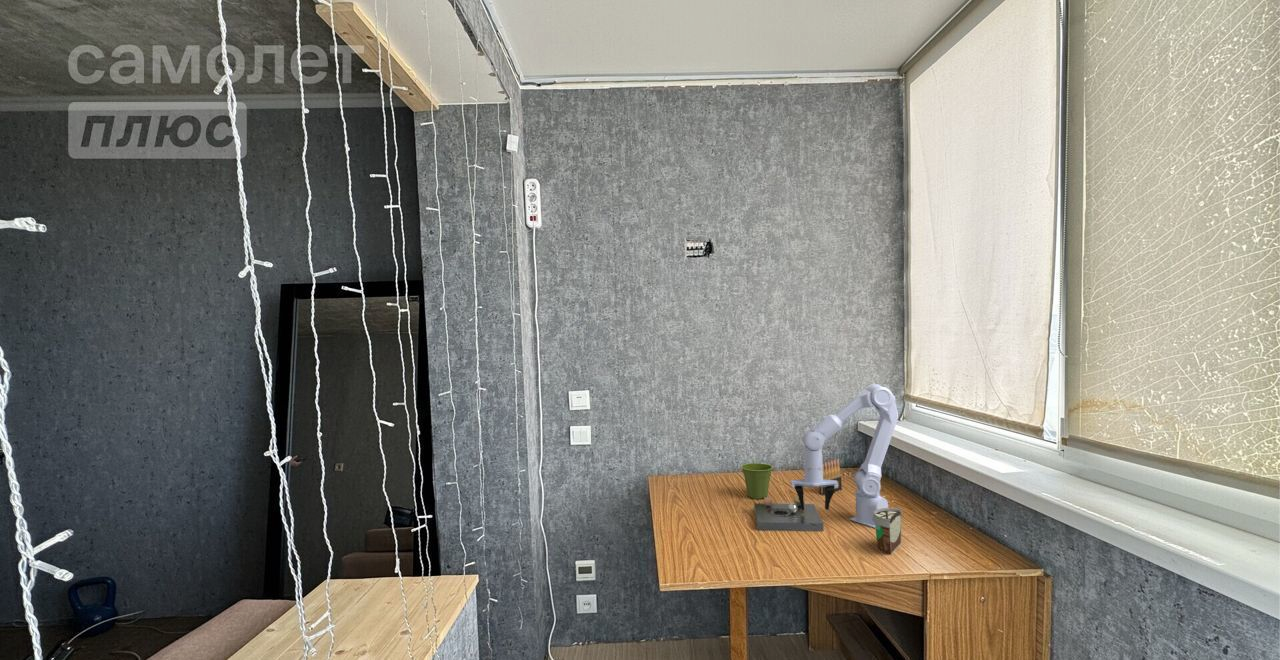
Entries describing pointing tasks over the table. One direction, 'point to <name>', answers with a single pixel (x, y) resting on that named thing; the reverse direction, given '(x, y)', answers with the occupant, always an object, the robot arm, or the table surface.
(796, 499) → the brass ball
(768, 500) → the terracotta ball
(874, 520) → the food container
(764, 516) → the hole plate
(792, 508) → the steel ball
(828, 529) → the table surface
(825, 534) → the table surface
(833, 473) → the ammunition clip
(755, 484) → the plant pot
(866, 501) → the robot arm
